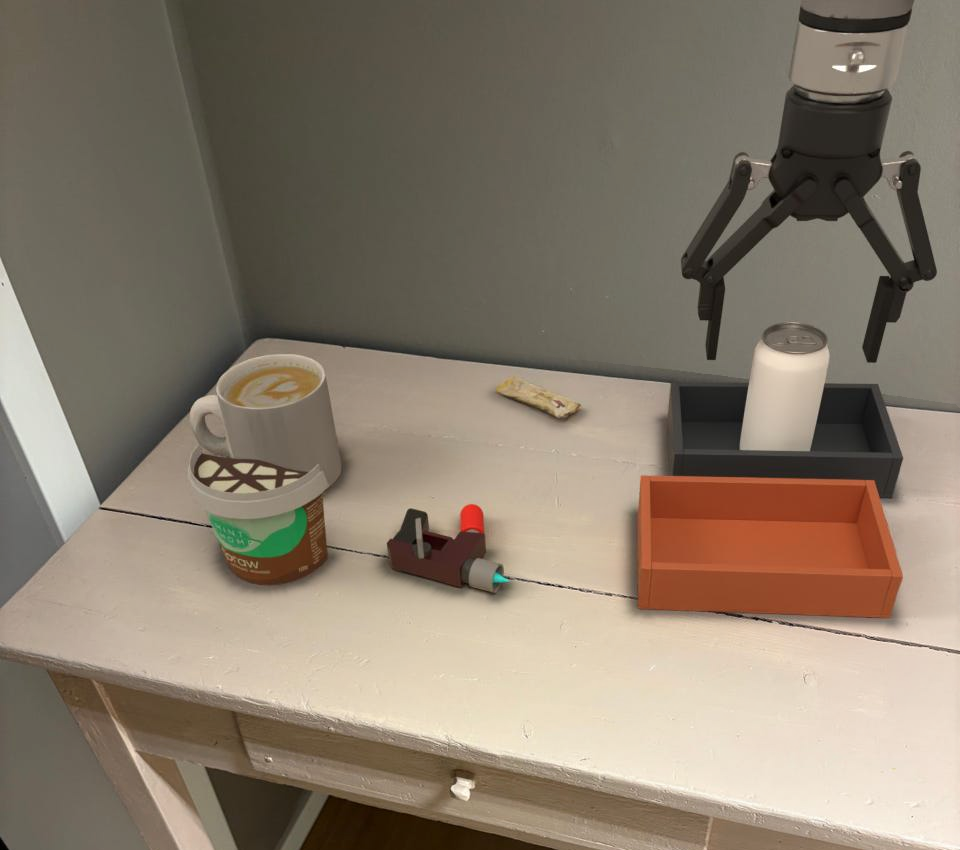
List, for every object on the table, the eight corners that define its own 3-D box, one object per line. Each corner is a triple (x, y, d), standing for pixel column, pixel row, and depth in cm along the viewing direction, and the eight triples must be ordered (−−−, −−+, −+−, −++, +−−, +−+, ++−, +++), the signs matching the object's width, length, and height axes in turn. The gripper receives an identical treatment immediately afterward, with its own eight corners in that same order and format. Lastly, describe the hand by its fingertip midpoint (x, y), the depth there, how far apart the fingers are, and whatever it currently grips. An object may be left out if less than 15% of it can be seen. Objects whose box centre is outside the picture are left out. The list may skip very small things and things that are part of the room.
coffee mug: (356, 449, 99) (341, 358, 92) (318, 508, 92) (299, 414, 85) (235, 436, 102) (211, 346, 95) (190, 491, 95) (161, 399, 88)
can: (737, 434, 97) (754, 318, 89) (805, 436, 96) (829, 319, 88) (740, 472, 93) (758, 354, 84) (811, 474, 92) (837, 355, 83)
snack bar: (493, 389, 105) (511, 370, 106) (497, 399, 106) (515, 380, 107) (563, 418, 100) (581, 398, 100) (566, 428, 101) (584, 408, 102)
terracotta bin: (863, 520, 87) (874, 479, 84) (890, 618, 78) (903, 576, 75) (637, 514, 89) (640, 474, 86) (638, 608, 80) (641, 568, 77)
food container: (184, 578, 86) (152, 483, 79) (221, 536, 90) (193, 442, 83) (311, 606, 82) (288, 509, 76) (343, 561, 87) (324, 464, 80)
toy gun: (502, 605, 81) (500, 559, 78) (374, 571, 85) (367, 526, 82) (546, 537, 88) (546, 491, 84) (425, 508, 92) (420, 463, 88)
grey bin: (868, 422, 98) (878, 383, 95) (891, 498, 89) (903, 457, 86) (667, 419, 100) (670, 381, 97) (670, 493, 91) (674, 453, 88)
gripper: (668, 105, 71) (646, 372, 86) (1034, 101, 68) (946, 378, 83) (666, 74, 76) (645, 331, 91) (1005, 70, 74) (927, 335, 89)
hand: (788, 354), depth 87 cm, fingers open, 13 cm apart
